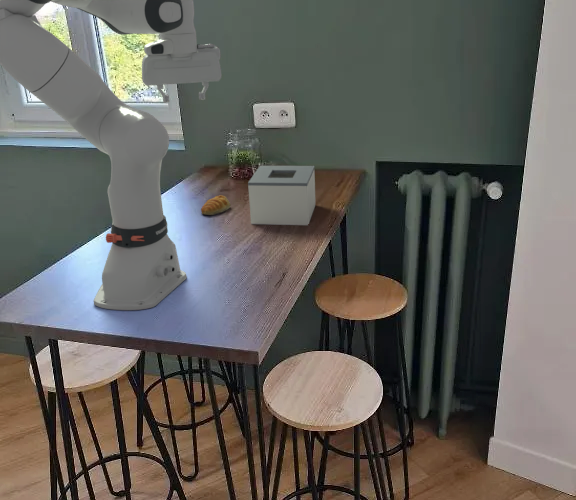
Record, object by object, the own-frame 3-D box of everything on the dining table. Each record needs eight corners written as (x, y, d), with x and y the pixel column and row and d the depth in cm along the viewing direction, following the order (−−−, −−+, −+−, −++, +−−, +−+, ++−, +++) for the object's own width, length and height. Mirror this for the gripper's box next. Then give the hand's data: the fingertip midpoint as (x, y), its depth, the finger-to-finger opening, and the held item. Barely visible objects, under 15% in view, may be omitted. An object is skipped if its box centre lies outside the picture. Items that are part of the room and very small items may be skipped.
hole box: (308, 225, 164) (307, 183, 159) (251, 224, 167) (248, 182, 162) (315, 205, 178) (314, 165, 174) (262, 204, 181) (260, 165, 176)
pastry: (214, 218, 173) (212, 205, 171) (195, 215, 176) (193, 202, 174) (232, 207, 180) (231, 195, 179) (214, 204, 183) (212, 193, 182)
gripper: (217, 42, 158) (221, 96, 163) (137, 46, 152) (144, 101, 158) (222, 44, 152) (225, 99, 158) (139, 48, 147) (146, 105, 152)
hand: (184, 100), depth 158 cm, fingers open, 8 cm apart
